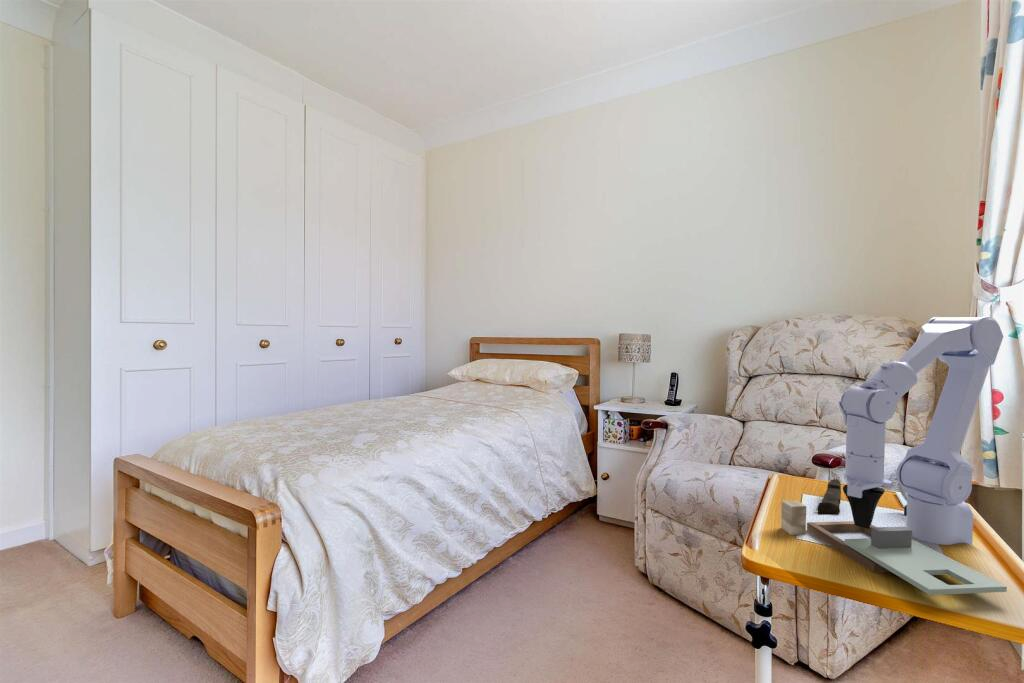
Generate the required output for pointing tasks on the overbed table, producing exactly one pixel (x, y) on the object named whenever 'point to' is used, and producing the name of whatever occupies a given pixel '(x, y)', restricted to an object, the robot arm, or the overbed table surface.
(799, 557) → the overbed table surface
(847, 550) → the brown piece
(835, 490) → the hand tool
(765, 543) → the overbed table surface
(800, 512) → the block
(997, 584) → the lid
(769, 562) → the overbed table surface
